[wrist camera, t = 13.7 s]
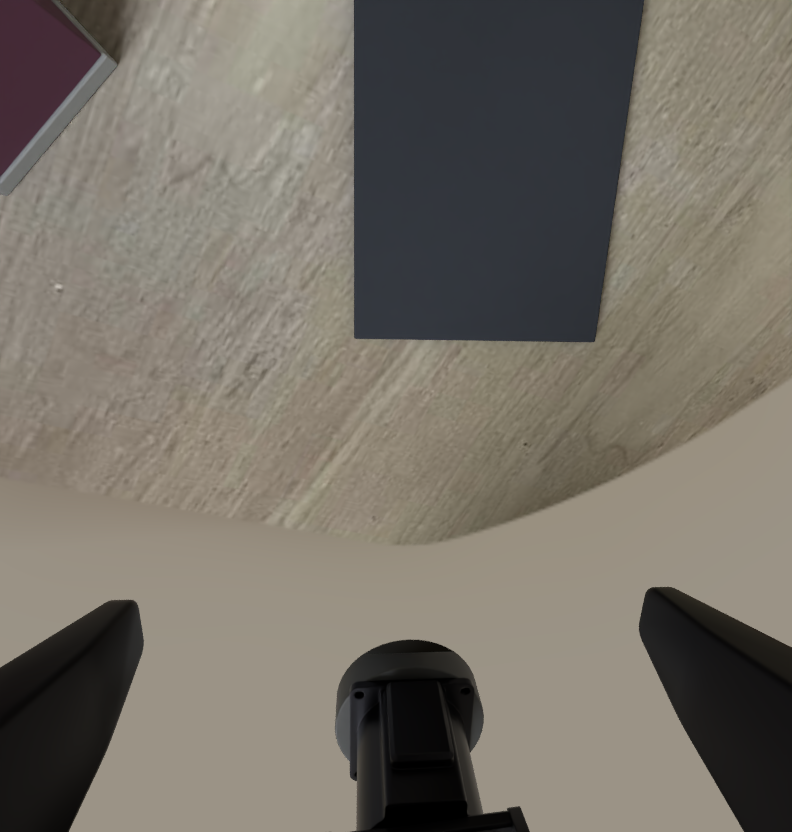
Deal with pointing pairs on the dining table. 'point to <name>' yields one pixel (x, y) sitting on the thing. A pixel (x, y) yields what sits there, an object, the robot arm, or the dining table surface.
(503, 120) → the dark gray rectangular slab
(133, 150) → the dining table surface
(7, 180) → the maroon box white base
